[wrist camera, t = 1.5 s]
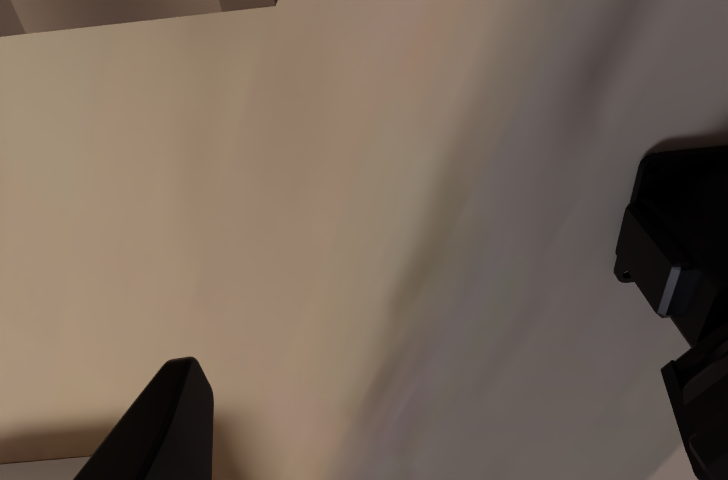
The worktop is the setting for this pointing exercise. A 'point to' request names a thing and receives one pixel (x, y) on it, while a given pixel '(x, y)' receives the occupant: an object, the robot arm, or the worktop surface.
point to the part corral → (43, 469)
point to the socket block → (104, 12)
